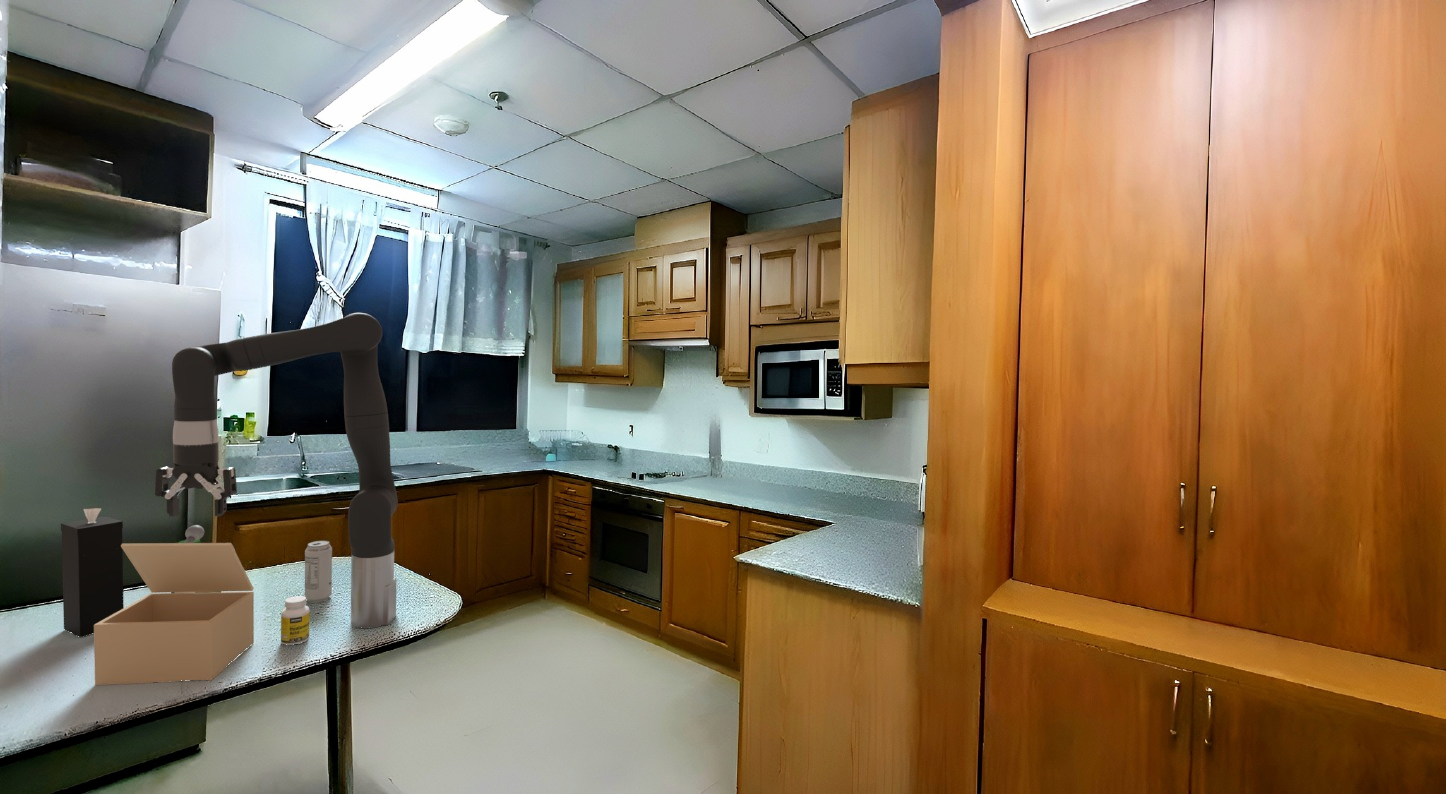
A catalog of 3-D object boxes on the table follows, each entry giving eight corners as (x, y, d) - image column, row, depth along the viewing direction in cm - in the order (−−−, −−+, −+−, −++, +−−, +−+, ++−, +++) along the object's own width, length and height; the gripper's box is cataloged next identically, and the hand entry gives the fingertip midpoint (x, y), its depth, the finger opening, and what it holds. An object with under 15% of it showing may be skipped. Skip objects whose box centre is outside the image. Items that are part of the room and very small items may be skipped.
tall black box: (124, 625, 151) (122, 507, 149) (79, 638, 144) (77, 514, 142) (107, 618, 154) (105, 502, 152) (62, 630, 147) (60, 508, 145)
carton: (253, 643, 145) (253, 591, 144) (211, 680, 129) (211, 621, 129) (151, 647, 141) (150, 593, 141) (95, 684, 126) (93, 624, 125)
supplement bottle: (288, 648, 144) (288, 605, 143) (276, 641, 147) (276, 599, 146) (314, 639, 148) (314, 598, 148) (302, 633, 151) (302, 592, 151)
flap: (252, 590, 144) (266, 563, 150) (229, 545, 135) (245, 518, 140) (151, 592, 141) (169, 564, 146) (120, 545, 131) (141, 517, 136)
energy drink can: (336, 598, 172) (336, 543, 171) (311, 605, 167) (312, 548, 166) (324, 592, 175) (324, 538, 174) (300, 599, 170) (300, 543, 169)
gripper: (243, 439, 143) (243, 511, 145) (169, 437, 141) (170, 511, 142) (223, 444, 136) (224, 520, 137) (145, 442, 133) (147, 520, 135)
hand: (197, 515), depth 140 cm, fingers open, 8 cm apart
